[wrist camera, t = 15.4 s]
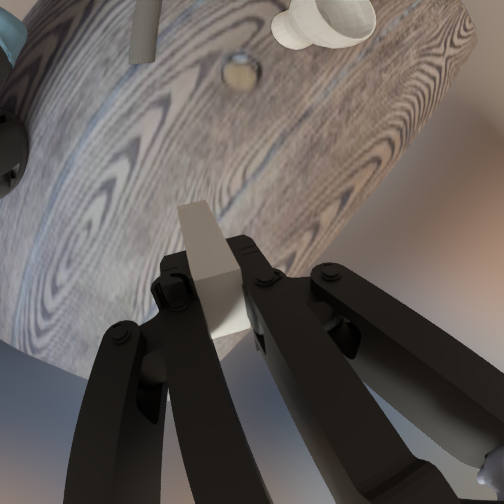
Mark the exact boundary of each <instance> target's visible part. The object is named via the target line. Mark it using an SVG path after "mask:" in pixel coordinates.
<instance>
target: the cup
mask: <svg viewBox="0 0 504 504" xmlns="http://www.w3.org/2000/svg"><path fill="white" fill-rule="evenodd" d="M375 26H376V15H375V12H374V8H373V6H372V4H371V2H370V1H369V0H291V3H290V6H289V10H286V11H283V12H281V13H279V14H277V15H276V16H275V17H274V19H273V20H272V24H271V30H272V33H273V35H274V37H275V39H276V40H277V41H278V42H279V43H280V44H282V45H283V46H285V47H287V48H290V49H294V50H299V49H304V48H306V47H308V46H310V45H311V44H315V45H318V46H323V47H329V48H344V47H350V46H353V45H356V44H358V43H360V42H362V41H363V40H365V39H367V38H368V37H369V36H371V35H372V33H373V31H374V30H375Z"/></svg>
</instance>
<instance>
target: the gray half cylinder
mask: <svg viewBox="0 0 504 504" xmlns="http://www.w3.org/2000/svg"><path fill="white" fill-rule="evenodd" d="M161 3H162V0H137V2H136V7H135V13H134V20H133V27H132V34H131V43H130V52H129V64H141V63H152V62H154V61H155V51H156V41H157V32H158V24H159V17H160V10H161Z"/></svg>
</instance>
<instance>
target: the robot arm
mask: <svg viewBox="0 0 504 504" xmlns="http://www.w3.org/2000/svg"><path fill="white" fill-rule="evenodd" d="M26 40H27V29H26V27H25V26H24V24H23V23H22V22H21V21H20V20H19V19H17V18H16V17H15V16H14V15H12V14H11V13H9V12H8V11H6V10H5V9H3V8H1V7H0V93H1V90H2V88H3V86H4V84H5V82H6V80H7V78H8V76H9V74H10V72H11V70H13V68H14V66H15V61H16V59H17V57H18V55H19V53H20V52H21V50H22V48H23V46H24V44H25V42H26ZM27 156H28V143H27V136H26V132H25V129H24V127H23V125H22V123H21V121H20V120H19V118H18V117H17V116H16V115H15V114H13V113H12V112H10V111H7V110H0V199H1V198H3V197H5V196H6V195H7V194H9V193H10V192H11V191H12V190H13V189H14V188H15V187H16V186H17V185H18V183H19V182H20V180H21V178H22V176H23V173H24V170H25V167H26V163H27ZM177 209H178V215H179V220H180V225H181V230H182V235H183V239H184V244H185V249H186V250H185V251H182V252H178V253H174V254H170V255H167V256H164V257H163V259H162V261H161V263H160V272H161V273H160V274H161V276H160V277H158V278H157V279H156V280H155V281H154V282H153V283H152V285H151V289H150V290H151V292H152V295H153V297H154V299H155V302H156V304H157V306H158V309H159V312H158V314H157V315H156V316H155V317H154V318H152V319H151V320H149V321H147V322H146V323H144V324H142V325H140V326H138V324H137V323H135V322H133V321H129V320H125V321H120V322H117V323H115V324H114V325H112V326H111V327H110V328H109V329H108V330H107V331H106V332H105V334H104V336H103V338H102V341H101V344H100V347H99V350H98V352H97V355H96V358H95V361H94V364H93V367H92V371H91V374H90V377H89V380H88V384H87V387H86V390H85V394H84V397H83V401H82V405H81V409H80V412H79V416H78V421H77V424H76V429H75V433H74V438H73V442H72V447H71V453H70V458H69V464H68V469H67V476H66V483H65V491H64V500H63V504H160V491H161V466H162V465H161V464H162V449H163V434H164V422H165V412H166V402H167V393H168V389H169V395H170V401H171V406H172V411H173V417H174V421H175V426H176V432H177V436H178V441H179V445H180V450H181V454H182V458H183V462H184V466H185V469H186V473H187V477H188V480H189V484H190V488H191V491H192V494H193V498H194V501H195V504H273V501H272V499H271V497H270V495H269V492H268V490H267V488H266V486H265V484H264V481H263V479H262V476H261V474H260V471H259V469H258V467H257V464H256V462H255V459H254V457H253V454H252V452H251V449H250V447H249V444H248V442H247V439H246V436H245V434H244V431H243V428H242V426H241V423H240V420H239V418H238V415H237V412H236V409H235V406H234V404H233V401H232V398H231V395H230V392H229V389H228V386H227V383H226V380H225V377H224V374H223V371H222V368H221V365H220V362H219V359H218V355H217V352H216V349H215V346H214V343H213V340H212V339H214V338H218V337H221V336H225V335H228V334H232V333H235V332H238V331H242V330H245V329H248V328H250V323H251V325H252V327H253V331H254V337H255V343H256V349H257V351H258V350H260V351H261V353H262V355H263V358H264V360H265V362H266V364H267V366H268V368H269V370H270V373H271V375H272V377H273V379H274V381H275V383H276V385H277V387H278V390H279V392H280V394H281V396H282V398H283V400H284V402H285V404H286V406H287V408H288V410H289V412H290V414H291V416H292V418H293V420H294V422H295V424H296V426H297V428H298V430H299V432H300V434H301V436H302V438H303V440H304V442H305V444H306V446H307V448H308V450H309V452H310V454H311V456H312V458H313V460H314V462H315V464H316V466H317V468H318V469H319V471H320V473H321V475H322V477H323V479H324V481H325V483H326V485H327V487H328V488H329V490H330V492H331V494H332V496H333V498H334V500H335V502H336V504H504V373H502V372H501V371H499V370H498V369H497V368H495V367H494V366H493V365H491V364H490V363H489V362H487V361H486V360H484V359H483V358H482V357H480V356H479V355H478V354H476V353H475V352H473V351H472V350H471V349H469V348H468V347H466V346H465V345H463V344H462V343H461V342H459V341H458V340H456V339H455V338H454V337H452V336H451V335H449V334H448V333H446V332H445V331H443V330H442V329H441V328H439V327H438V326H436V325H435V324H433V323H432V322H430V321H429V320H427V319H425V318H424V317H423V316H421V315H420V314H418V313H417V312H415V311H414V310H412V309H411V308H409V307H407V306H406V305H405V304H403V303H402V302H400V301H398V300H397V299H395V298H394V297H392V296H391V295H389V294H388V293H386V292H384V291H383V290H381V289H380V288H378V287H377V286H375V285H373V284H372V283H370V282H369V281H367V280H366V279H364V278H362V277H361V276H359V275H357V274H356V273H354V272H353V271H351V270H349V269H348V268H346V267H344V266H342V265H340V264H338V263H331V262H330V263H322V264H319V265H317V266H315V267H314V268H313V269H312V271H311V274H310V277H299V278H291V277H287V276H286V275H285V274H284V273H283V272H282V271H281V270H278V269H275V268H272V267H271V265H270V264H269V262H268V261H267V259H266V258H265V257H264V255H263V254H262V252H261V251H260V249H259V248H258V247H257V246H256V244H255V242H254V241H253V239H252V238H250V237H248V236H246V235H244V234H243V235H239V236H235V237H231V238H228V239H225V238H224V236H223V234H222V232H221V230H220V228H219V226H218V224H217V222H216V220H215V218H214V216H213V214H212V212H211V210H210V208H209V206H208V204H207V202H206V200H203V201H198V202H194V203H190V204H186V205H182V206H179V207H177ZM249 321H250V322H249ZM361 380H362V381H363V382H364V383H366V384H367V385H368V386H369V387H370V388H371V389H372V390H373V391H375V392H376V393H377V394H378V395H379V396H380V397H382V398H383V399H384V400H385V401H386V402H388V403H389V404H390V405H391V406H392V407H393V408H395V409H396V410H397V411H398V412H399V413H401V414H402V415H403V416H404V417H405V418H407V419H408V420H409V421H410V422H411V423H413V424H414V425H415V426H416V427H417V428H419V429H420V430H421V431H422V432H423V433H425V434H426V435H427V436H428V437H430V438H431V439H432V440H433V441H434V442H436V443H437V444H438V445H439V446H441V447H442V448H443V449H444V450H446V451H447V452H448V453H449V454H451V455H452V456H454V457H455V458H457V459H458V460H459V461H461V462H463V463H465V464H467V465H470V466H472V467H476V468H479V469H480V471H479V472H478V475H477V480H478V482H479V483H480V484H485V483H486V485H487V486H489V487H491V488H492V489H494V490H495V492H496V493H497V501H490V500H489V501H488V500H471V499H460V498H458V497H457V496H456V494H455V493H454V491H453V490H452V488H451V487H450V485H449V484H448V482H447V481H446V479H445V478H444V476H443V475H442V473H441V472H440V471H439V470H438V468H437V467H436V466H435V465H433V464H432V463H430V462H429V461H425V460H421V459H418V458H417V457H415V456H414V455H413V454H412V453H411V452H410V450H409V449H408V448H407V446H406V445H405V443H404V441H403V440H402V438H401V437H400V435H399V434H398V433H397V431H396V430H395V428H394V427H393V425H392V424H391V422H390V421H389V420H388V418H387V417H386V415H385V414H384V412H383V411H382V409H381V408H380V407H379V405H378V404H377V402H376V401H375V399H374V398H373V396H372V395H371V394H370V392H369V391H368V389H367V388H366V386H365V385H364V384H363V382H362V381H361Z"/></svg>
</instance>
